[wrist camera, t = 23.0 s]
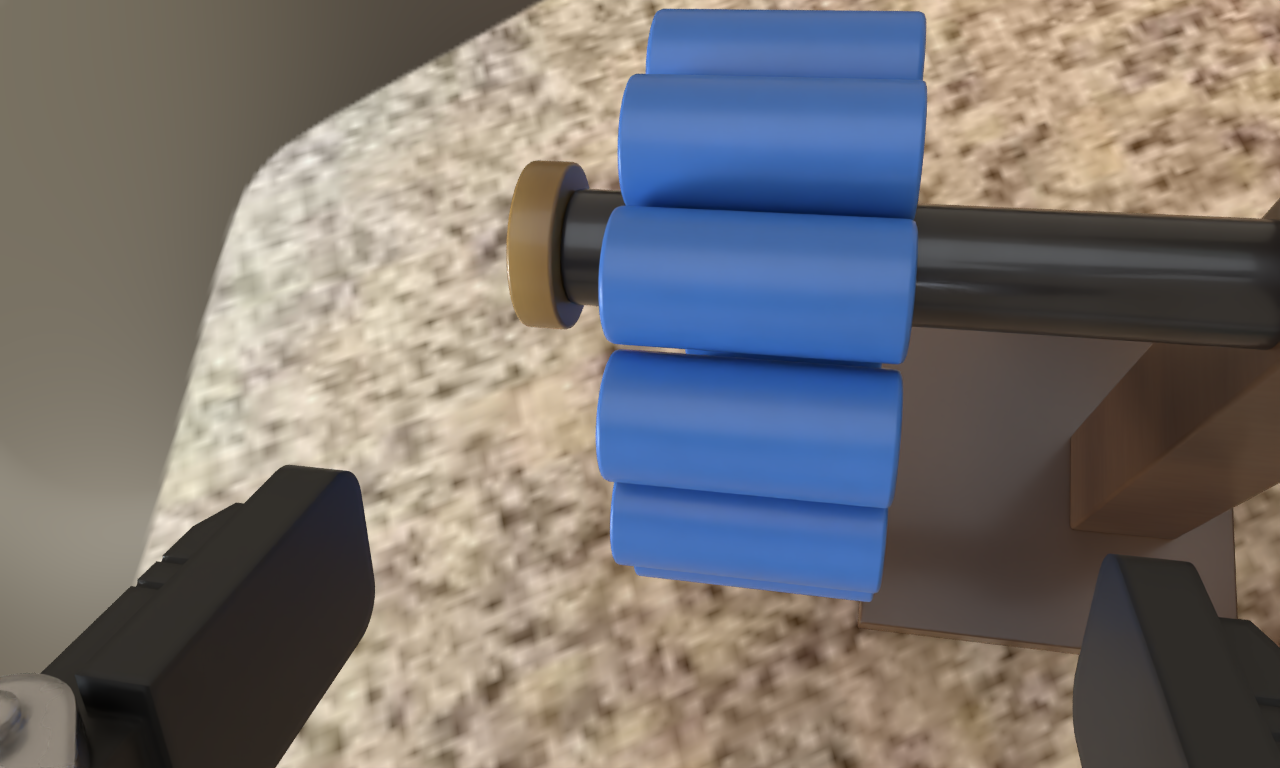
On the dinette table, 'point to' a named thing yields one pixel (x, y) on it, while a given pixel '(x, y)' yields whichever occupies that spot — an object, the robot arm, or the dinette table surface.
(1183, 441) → the tape stand
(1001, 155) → the dinette table surface
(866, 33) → the blue ribbed cylinder bundle
